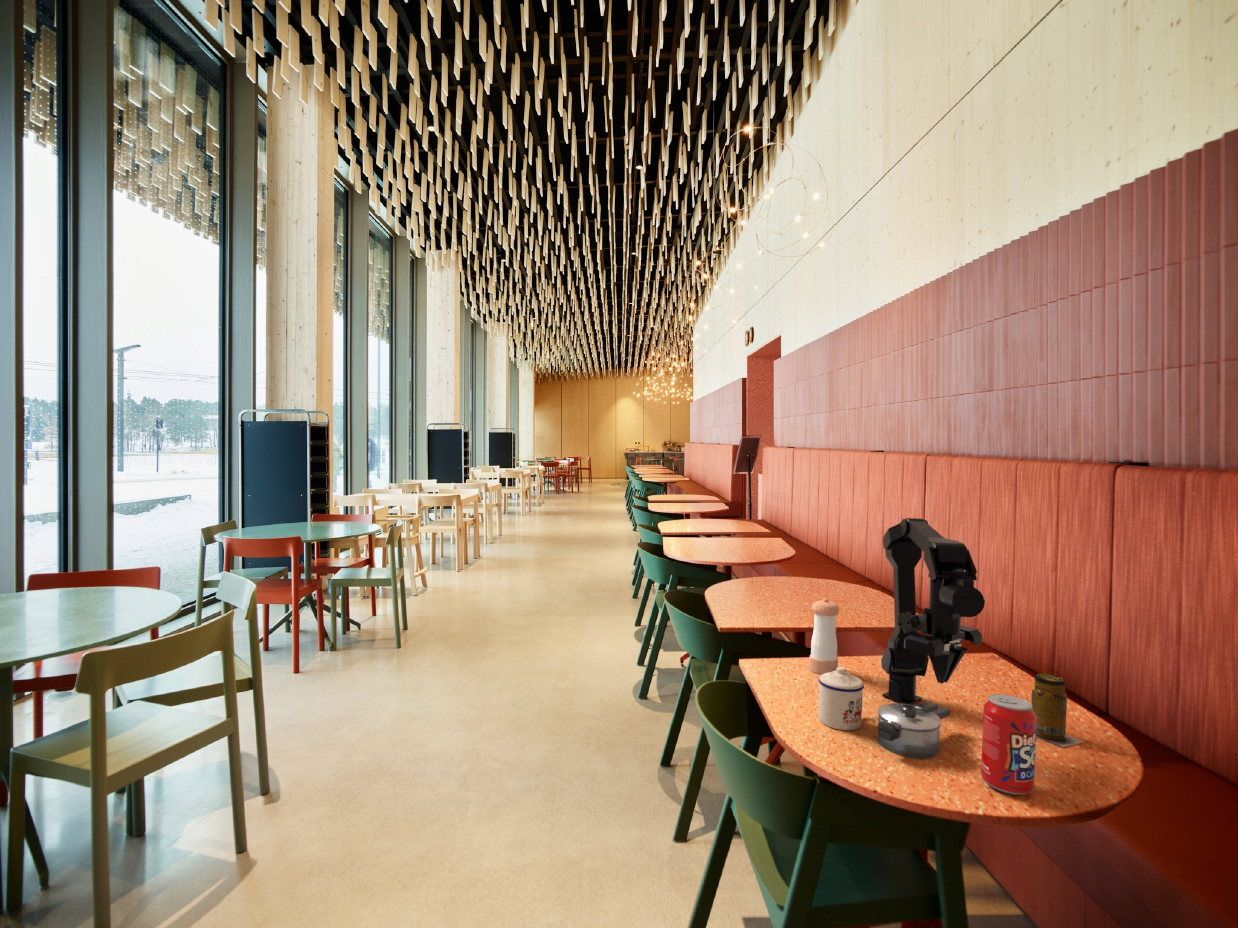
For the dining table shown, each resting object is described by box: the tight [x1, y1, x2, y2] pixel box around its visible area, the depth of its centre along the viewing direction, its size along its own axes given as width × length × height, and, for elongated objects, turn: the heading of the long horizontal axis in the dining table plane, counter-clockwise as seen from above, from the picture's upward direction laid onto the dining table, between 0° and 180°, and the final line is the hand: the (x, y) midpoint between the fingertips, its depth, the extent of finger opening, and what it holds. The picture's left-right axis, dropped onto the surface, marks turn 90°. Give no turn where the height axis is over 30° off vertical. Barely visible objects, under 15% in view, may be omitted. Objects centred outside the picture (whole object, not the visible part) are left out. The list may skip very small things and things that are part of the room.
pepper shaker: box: [808, 597, 840, 675], centre depth 165 cm, size 7×7×19 cm
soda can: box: [980, 693, 1037, 796], centre depth 108 cm, size 8×8×15 cm
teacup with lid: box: [818, 666, 865, 731], centre depth 134 cm, size 12×9×12 cm
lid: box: [877, 700, 942, 731], centre depth 124 cm, size 15×11×2 cm
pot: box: [877, 704, 951, 760], centre depth 124 cm, size 22×11×6 cm, turn 125°
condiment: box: [1030, 673, 1085, 748], centre depth 129 cm, size 7×8×12 cm
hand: (942, 682), depth 125 cm, fingers closed
